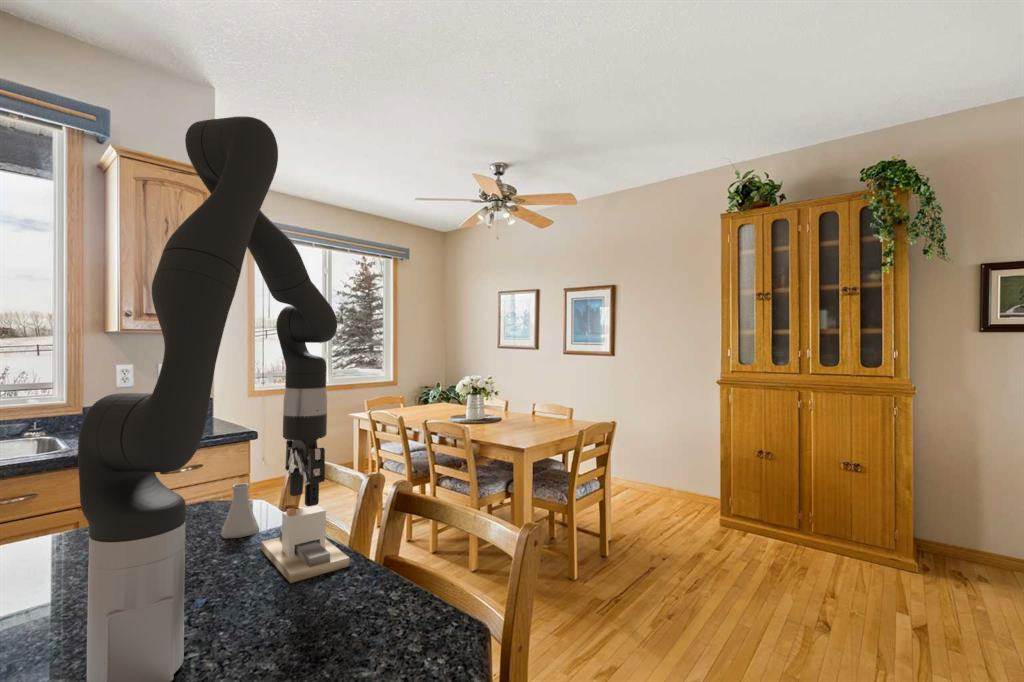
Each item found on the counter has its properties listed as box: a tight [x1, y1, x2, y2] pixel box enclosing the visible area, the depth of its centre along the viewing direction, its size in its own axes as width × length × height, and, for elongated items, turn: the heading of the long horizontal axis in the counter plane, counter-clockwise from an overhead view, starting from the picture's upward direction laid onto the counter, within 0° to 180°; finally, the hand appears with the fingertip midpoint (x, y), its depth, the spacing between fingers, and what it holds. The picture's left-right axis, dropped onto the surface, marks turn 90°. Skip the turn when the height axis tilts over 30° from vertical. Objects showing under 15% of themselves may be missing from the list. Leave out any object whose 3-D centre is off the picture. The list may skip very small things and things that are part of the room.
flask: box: [219, 482, 260, 539], centre depth 104 cm, size 7×7×10 cm
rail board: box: [260, 529, 350, 584], centre depth 92 cm, size 18×10×3 cm, turn 41°
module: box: [281, 504, 327, 558], centre depth 92 cm, size 4×6×8 cm, turn 131°
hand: (303, 500), depth 92 cm, fingers open, 8 cm apart
